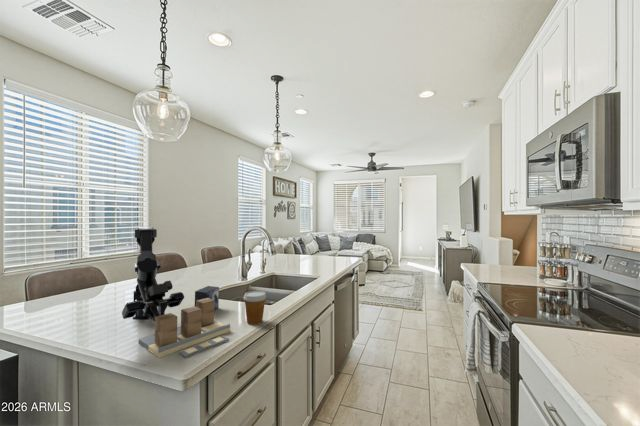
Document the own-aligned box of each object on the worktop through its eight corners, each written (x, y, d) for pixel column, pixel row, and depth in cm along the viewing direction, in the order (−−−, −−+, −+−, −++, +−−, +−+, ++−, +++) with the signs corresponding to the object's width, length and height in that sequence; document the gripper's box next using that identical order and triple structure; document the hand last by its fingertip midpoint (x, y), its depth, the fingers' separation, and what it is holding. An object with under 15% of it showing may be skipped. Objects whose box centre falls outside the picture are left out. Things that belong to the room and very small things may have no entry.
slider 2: (195, 323, 112) (196, 300, 112) (207, 319, 116) (207, 297, 116) (202, 326, 109) (202, 303, 109) (214, 322, 113) (214, 300, 113)
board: (138, 343, 98) (138, 335, 98) (207, 321, 119) (207, 315, 119) (159, 357, 88) (159, 349, 88) (230, 331, 109) (230, 324, 109)
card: (178, 353, 91) (178, 351, 91) (222, 337, 104) (222, 335, 104) (185, 358, 88) (185, 355, 88) (229, 340, 101) (229, 338, 101)
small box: (206, 315, 126) (206, 292, 126) (193, 314, 127) (193, 291, 127) (219, 308, 136) (219, 286, 136) (207, 307, 138) (207, 285, 138)
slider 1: (154, 343, 94) (155, 316, 94) (170, 338, 98) (170, 312, 98) (161, 348, 91) (161, 320, 91) (177, 342, 95) (177, 316, 95)
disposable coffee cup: (245, 318, 123) (245, 290, 123) (267, 317, 124) (267, 290, 124) (241, 326, 114) (241, 297, 114) (264, 326, 114) (265, 296, 115)
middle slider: (180, 334, 101) (181, 309, 101) (194, 330, 105) (194, 306, 105) (187, 338, 98) (188, 312, 98) (201, 333, 102) (201, 309, 102)
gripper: (125, 278, 92) (138, 320, 85) (182, 270, 107) (197, 305, 100) (116, 298, 97) (128, 339, 90) (172, 287, 112) (185, 322, 105)
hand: (162, 325), depth 96 cm, fingers closed, pressing on slider 1
